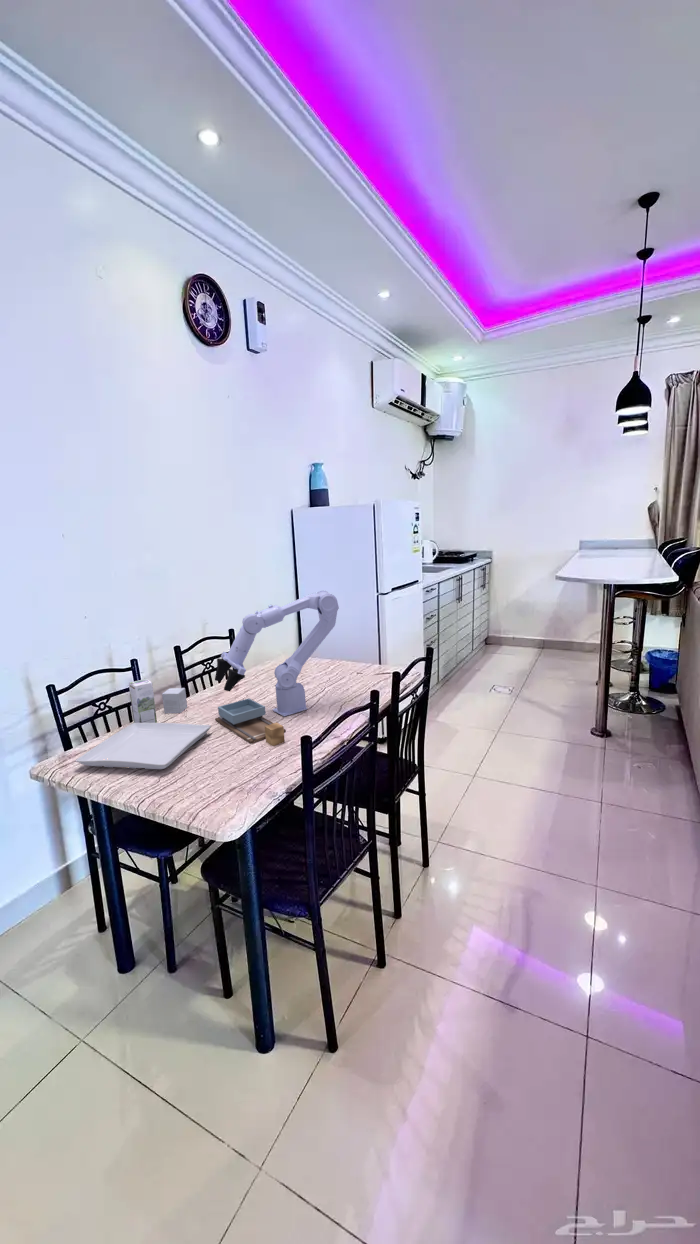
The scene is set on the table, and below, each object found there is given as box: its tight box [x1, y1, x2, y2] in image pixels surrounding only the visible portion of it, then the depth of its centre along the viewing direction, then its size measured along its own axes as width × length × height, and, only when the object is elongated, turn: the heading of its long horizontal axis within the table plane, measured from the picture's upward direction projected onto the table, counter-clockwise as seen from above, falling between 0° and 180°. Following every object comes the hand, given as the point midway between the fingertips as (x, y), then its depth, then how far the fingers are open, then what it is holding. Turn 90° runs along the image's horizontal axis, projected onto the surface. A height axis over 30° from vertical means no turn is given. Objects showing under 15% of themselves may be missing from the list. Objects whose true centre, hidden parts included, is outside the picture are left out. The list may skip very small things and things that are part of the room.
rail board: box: [214, 715, 287, 745], centre depth 162 cm, size 12×25×1 cm, turn 38°
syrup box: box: [128, 678, 158, 723], centre depth 168 cm, size 6×6×14 cm
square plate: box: [75, 722, 212, 770], centre depth 147 cm, size 27×27×4 cm
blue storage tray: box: [217, 697, 267, 726], centre depth 165 cm, size 11×11×4 cm
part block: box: [265, 722, 286, 747], centre depth 149 cm, size 4×4×5 cm
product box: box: [161, 687, 188, 714], centre depth 179 cm, size 6×6×7 cm
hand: (222, 685), depth 166 cm, fingers open, 7 cm apart
